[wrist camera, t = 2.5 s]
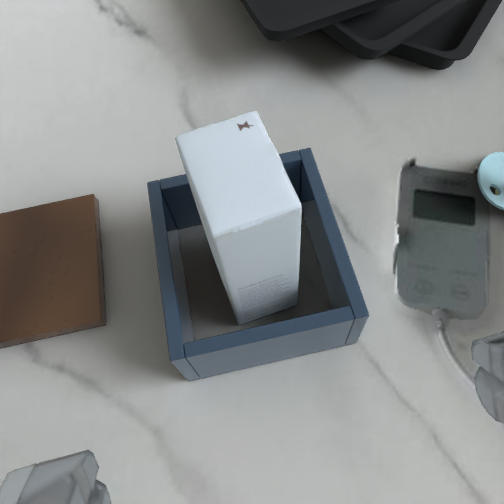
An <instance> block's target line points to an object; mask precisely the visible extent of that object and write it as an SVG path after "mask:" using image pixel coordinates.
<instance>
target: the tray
mask: <svg viewBox="0 0 504 504" xmlns="http://www.w3.org/2000/svg"><path fill="white" fill-rule="evenodd" d="M501 1H502V0H241V2H242V3H243V5H244V6H245V8H246V9H247V11H248V12H249V14H250V15H251V17H252V18H253V20H254V21H255V23H256V24H257V26H258V27H259V29H260V30H261V32H262V33H263V34H264V36H265V37H266V38H268V39H270V40H272V41H284V40H288V39H291V38H294V37H297V36H300V35H303V34H306V33H308V32H311V31H314V30H317V29H319V30H321V31H323V32H325V33H326V34H327V35H329V36H330V37H331V38H333V39H334V40H336V41H337V42H338V43H340V44H341V45H342V46H344V47H345V48H347V49H348V50H349V51H351V52H352V53H353V54H355V55H356V56H358V57H360V58H363V59H375V58H378V57H380V56H382V55H383V54H385V53H389V54H391V55H394V56H397V57H400V58H403V59H406V60H409V61H412V62H415V63H418V64H421V65H424V66H426V67H429V68H433V69H445V68H448V67H450V66H451V65H452V64H453V63H454V61H455V60H462V59H464V58H466V57H467V56H469V54H470V53H471V52H472V50H473V48H474V47H475V45H476V43H477V42H478V40H479V38H480V37H481V35H482V33H483V32H484V30H485V28H486V27H487V25H488V23H489V22H490V20H491V18H492V16H493V15H494V13H495V11H496V10H497V8H498V6H499V5H500V3H501Z"/></svg>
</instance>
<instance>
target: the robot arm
mask: <svg viewBox="0 0 504 504" xmlns="http://www.w3.org/2000/svg"><path fill="white" fill-rule="evenodd" d="M471 352H472V359H473V360H474V361H475V362H476V363H477V364H478V365H479V366H480V367H479V369H478V371H477V373H476V375H475V377H474V380H475V386H476V392H477V394H478V397H479V399H480V401H481V404H482V405H483V407H484V408H485V410H486V411H487V412H488V414H489V415H491V416H492V417H493V418H494V419H495V420H496V421H498V422H501V423H504V331H503V332H500V333H497V334H494V335H490V336H487V337H484V338H481V339H478V340H474V341H473V343H472V347H471ZM98 469H99V466H98V464H97V461H96V459H95V456H94V454H93V453H92V452H91V451H89V450H86V451H82V452H78V453H74V454H71V455H67V456H63V457H59V458H55V459H52V460H48V461H44V462H40V463H38V464H32V465H29V466H26V467H22V468H19V469H15V470H13V471H11V472H10V473H8V474H7V476H6V478H5V480H4V482H3V484H2V485H1V487H0V504H111V500H110V495H109V493H108V490H107V487H106V485H105V484H103V483H101V482H100V481H98V480H96V477H97V473H98Z"/></svg>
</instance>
